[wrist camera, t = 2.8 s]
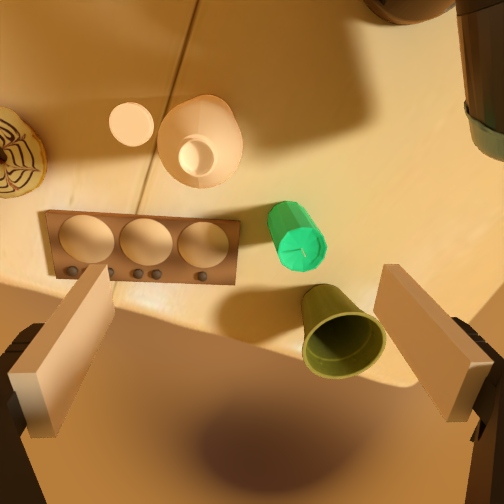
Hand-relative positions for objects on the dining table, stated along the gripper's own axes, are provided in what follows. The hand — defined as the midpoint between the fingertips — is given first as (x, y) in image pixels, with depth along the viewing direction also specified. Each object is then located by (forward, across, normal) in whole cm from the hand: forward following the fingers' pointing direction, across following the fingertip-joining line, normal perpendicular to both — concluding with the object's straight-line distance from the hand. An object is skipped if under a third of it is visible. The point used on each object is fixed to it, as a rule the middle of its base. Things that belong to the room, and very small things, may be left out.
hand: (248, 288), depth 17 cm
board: (+33, -12, -13) cm, 37 cm away
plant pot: (+33, +15, -23) cm, 43 cm away
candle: (+33, +8, -9) cm, 35 cm away
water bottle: (+33, -4, +5) cm, 34 cm away
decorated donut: (+33, -28, 0) cm, 44 cm away
